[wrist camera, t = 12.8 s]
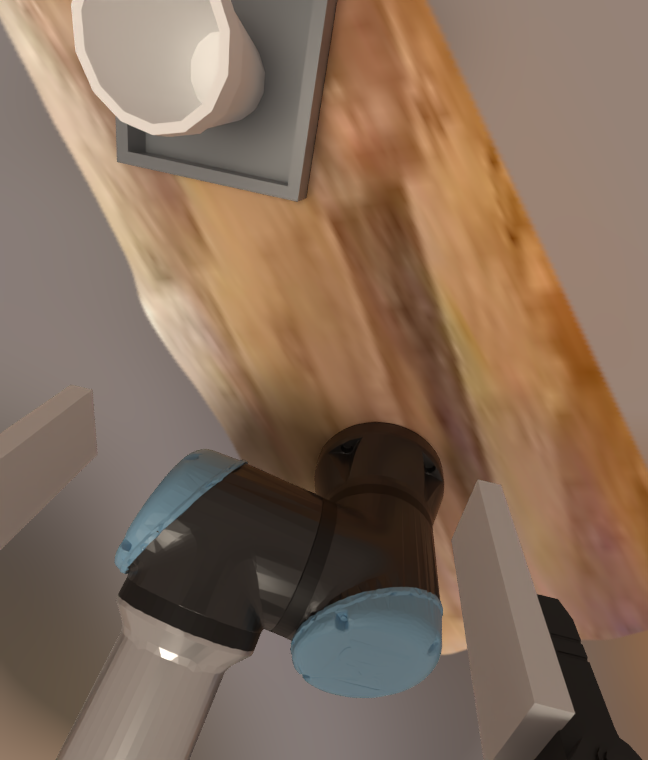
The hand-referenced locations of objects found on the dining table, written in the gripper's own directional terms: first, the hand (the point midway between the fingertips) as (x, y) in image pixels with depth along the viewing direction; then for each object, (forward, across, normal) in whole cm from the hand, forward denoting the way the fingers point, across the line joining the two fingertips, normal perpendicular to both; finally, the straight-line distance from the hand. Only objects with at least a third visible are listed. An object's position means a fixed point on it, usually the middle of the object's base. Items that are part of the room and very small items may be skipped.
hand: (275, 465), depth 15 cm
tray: (+31, +14, -13) cm, 37 cm away
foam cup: (+31, +13, -13) cm, 36 cm away
